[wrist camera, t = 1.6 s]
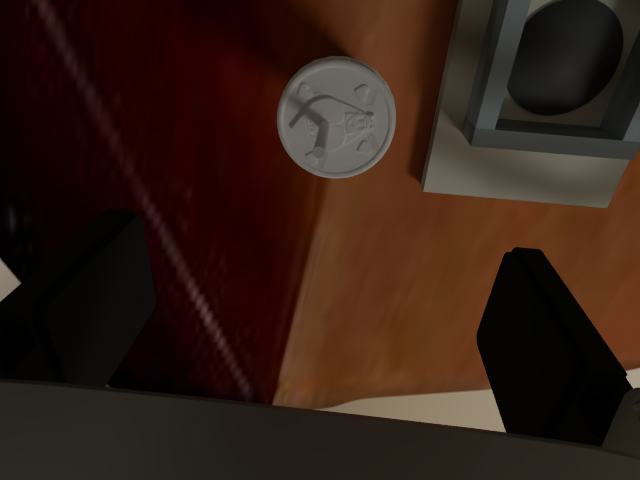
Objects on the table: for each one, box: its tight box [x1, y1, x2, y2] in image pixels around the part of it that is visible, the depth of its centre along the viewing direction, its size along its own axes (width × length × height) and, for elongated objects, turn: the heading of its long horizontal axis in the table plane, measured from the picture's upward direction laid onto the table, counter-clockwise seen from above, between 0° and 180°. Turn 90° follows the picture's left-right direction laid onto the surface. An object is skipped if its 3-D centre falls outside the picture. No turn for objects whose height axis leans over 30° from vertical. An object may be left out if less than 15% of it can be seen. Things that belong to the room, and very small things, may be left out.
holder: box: [421, 0, 640, 208], centre depth 27 cm, size 20×14×4 cm
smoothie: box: [277, 56, 396, 178], centre depth 24 cm, size 6×6×14 cm
